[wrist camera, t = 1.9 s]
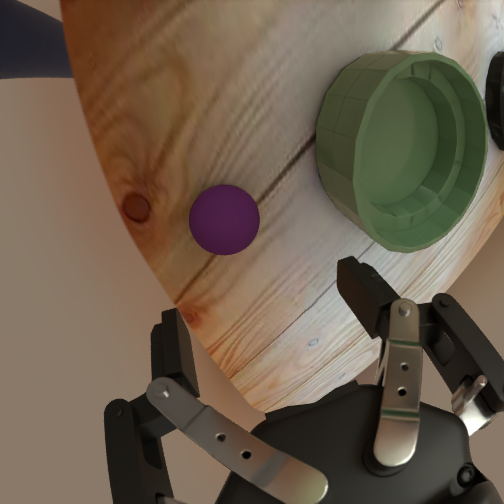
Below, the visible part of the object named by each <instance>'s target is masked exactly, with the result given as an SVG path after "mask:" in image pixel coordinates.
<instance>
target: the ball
mask: <svg viewBox="0 0 504 504" xmlns="http://www.w3.org/2000/svg"><path fill="white" fill-rule="evenodd" d="M259 224H260V216H259V211H258V208H257V205H256V203H255V201H254V200H253V198H252V197H251V196H250V195H249V194H248V193H247V192H245V191H244V190H242V189H240V188H238V187H236V186H232V185H217V186H214V187H211V188H209V189H207V190H205V191H204V192H203V193H201V194H200V195H199V196H198V197H197V199H196V200H195V201H194V203H193V205H192V208H191V210H190V215H189V226H190V230H191V233H192V235H193V237H194V239H195V240H196V242H197V243H198V244H199V245H200V246H201V247H202V248H203V249H205V250H206V251H208V252H211V253H213V254H217V255H232V254H235V253H238V252H240V251H242V250H244V249H245V248H246V247H248V246H249V245H250V244H251V243H252V241H253V240H254V238H255V237H256V235H257V232H258V229H259Z"/></svg>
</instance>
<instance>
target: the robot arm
mask: <svg viewBox="0 0 504 504" xmlns="http://www.w3.org/2000/svg"><path fill="white" fill-rule="evenodd" d="M337 288H338V291H339V293H340V295H341V296H342V298H343V299H344V300H345V302H346V303H347V305H348V306H349V307H350V309H351V310H352V312H353V313H354V314H355V316H356V317H357V319H358V320H359V321H360V323H361V324H362V326H363V327H364V329H365V330H366V331H367V333H368V334H369V336H370V337H371V339H374V338H376V337H379V336H380V338H381V339H382V341H381V346H380V354H379V361H378V368H377V373H376V378H375V381H374V385H373V384H361V385H358V383H357V381H356V380H354V381H352V382H349V383H347V384H345V385H342V386H340V387H338V388H335V389H334V390H332V391H331V392H329V393H328V394H327V395H325V396H324V397H322V398H321V399H319V400H318V401H316V402H315V403H311V404H303V405H294V406H287V407H284V408H281V409H278V410H275V411H272V412H268V413H265V416H266V420H264V421H262V422H261V423H259V424H258V425H257V426H256V427H255V428H254V429H253V430H252V431H251V432H250V433H249V432H248V431H246V430H244V429H243V428H241V427H240V426H238V425H237V424H235V423H234V422H232V421H231V420H230V419H228V418H226V417H225V416H224V415H222V414H221V413H219V412H218V411H217V410H215V409H214V408H212V407H211V406H209V405H204V404H203V403H202V402H200V401H199V400H198V399H196V398H198V397H200V394H199V388H198V382H197V377H196V371H195V364H194V358H193V352H192V346H191V339H190V335H189V332H188V329H187V327H186V325H185V323H184V321H183V319H182V316H181V314H180V312H179V310H178V308H173V309H170V310H166V311H163V312H162V323H160V324H156V325H154V328H153V330H152V332H151V370H152V382H151V383H150V384H149V385H148V387H147V390H146V392H145V393H144V394H143V395H141V396H139V397H138V398H136V399H134V400H132V401H130V402H127V401H126V400H124V399H115V400H113V401H111V402H110V403H109V404H108V405H107V406H106V408H105V411H104V427H105V443H106V454H107V464H108V472H109V479H110V487H111V492H112V499H113V504H187V503H185V502H184V501H181V500H177V499H174V495H173V491H172V488H171V483H170V480H169V475H168V471H167V466H166V462H165V457H164V452H163V447H162V443H161V436H163V435H165V434H167V433H169V432H171V431H173V430H175V429H177V428H178V429H179V430H180V431H181V432H182V433H184V434H185V435H186V436H187V437H188V438H189V439H191V440H192V441H193V442H194V443H196V444H197V445H198V446H199V447H201V448H202V449H203V450H204V451H206V452H207V453H208V454H209V455H211V456H212V457H213V458H215V459H216V460H217V461H219V462H220V463H221V464H223V465H224V466H225V467H227V468H228V469H230V470H231V472H230V474H229V476H228V478H227V480H226V482H225V484H224V486H223V488H222V490H221V492H220V494H219V496H218V498H217V500H216V502H215V504H504V503H503V502H502V499H501V498H500V496H499V493H498V492H497V490H496V488H495V486H494V485H493V483H492V482H491V481H490V480H489V479H488V478H487V477H485V476H484V475H483V474H482V473H481V472H480V471H479V470H478V469H477V468H476V467H475V466H474V464H473V462H472V459H471V455H470V448H469V436H470V435H472V434H473V433H474V432H476V431H477V430H480V429H483V428H485V427H486V426H488V425H489V424H490V423H491V422H492V421H494V420H495V419H496V418H497V417H499V416H500V415H501V414H502V413H503V412H504V361H503V359H502V358H501V356H500V355H499V354H498V352H497V351H496V349H495V348H494V347H493V345H492V344H491V343H490V341H489V340H488V339H487V337H486V336H485V335H484V334H483V332H482V331H481V330H480V329H479V327H478V326H477V325H476V324H475V323H474V321H473V320H472V319H471V318H470V316H469V315H468V314H467V313H466V312H465V310H464V309H463V308H462V307H461V306H460V305H459V303H458V302H457V301H456V300H455V299H454V298H453V297H452V296H451V295H449V294H446V293H438V294H436V295H435V296H434V297H433V299H432V302H430V303H423V304H416V303H415V302H413V301H412V300H410V299H406V298H401V297H400V296H399V295H398V294H397V293H396V292H395V291H394V290H393V289H392V287H391V286H390V285H389V284H388V283H387V282H386V281H385V280H383V278H382V276H381V275H379V273H378V272H377V271H376V270H375V269H374V268H373V267H372V266H370V265H368V264H366V263H364V262H363V263H359V262H358V260H357V259H356V258H355V257H354V256H349V257H346V258H343V259H340V260H338V262H337ZM445 333H446V334H445ZM448 337H449V338H448ZM450 340H451V341H452V342H451V341H450ZM453 344H454V345H453ZM423 349H424V350H425V352H426V353H427V355H428V356H429V358H430V359H431V361H432V362H433V364H434V366H435V367H436V369H437V370H438V372H439V373H440V375H441V376H442V378H443V379H444V381H445V383H446V384H447V386H448V387H449V389H450V391H451V392H452V394H453V396H452V401H451V402H452V411H453V412H454V413H451V412H448V411H445V410H442V409H440V408H437V407H434V406H431V405H429V404H426V403H423V402H420V394H421V382H422V362H423V360H422V359H423Z"/></svg>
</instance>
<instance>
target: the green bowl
mask: <svg viewBox="0 0 504 504" xmlns="http://www.w3.org/2000/svg"><path fill="white" fill-rule="evenodd" d="M487 152H488V123H487V118H486V113H485V109H484V104H483V100H482V98H481V96H480V93H479V91H478V89H477V87H476V85H475V83H474V82H473V80H472V78H471V77H470V76H469V74H468V73H467V72H466V71H465V70H464V69H463V68H462V67H461V66H460V65H459V64H458V63H457V62H456V61H454V60H452V59H450V58H448V57H445V56H443V55H440V54H438V53H435V52H425V51H402V50H388V51H381V52H375V53H369V54H365V55H364V56H362V57H361V58H359V59H358V60H356V61H355V62H353V63H352V64H350V65H349V66H347V67H346V68H344V69H343V70H342V72H341V73H340V75H339V76H338V77H337V79H336V80H335V82H334V83H333V85H332V86H331V87H330V89H329V90H328V92H327V93H326V95H325V99H324V102H323V105H322V108H321V112H320V115H319V118H318V121H317V124H316V162H317V165H318V169H319V173H320V176H321V180H322V184H323V187H324V189H325V191H326V192H327V194H328V195H329V197H330V198H331V200H332V201H333V203H334V204H335V206H336V207H337V209H338V210H339V211H341V212H342V213H343V214H344V215H345V216H346V217H348V218H349V219H350V220H351V221H352V222H353V223H354V224H356V225H357V226H358V227H359V228H360V229H361V230H362V231H363V232H365V233H366V234H367V235H368V236H369V237H370V238H371V239H373V240H374V241H375V242H377V243H378V244H380V245H381V246H382V247H384V248H385V249H387V250H388V251H394V252H401V253H411V252H415V251H418V250H422V249H425V248H428V247H430V246H431V245H433V244H434V243H436V242H437V241H439V240H440V239H442V238H443V237H445V236H446V235H447V234H448V233H449V232H450V231H451V230H452V229H453V228H454V227H455V225H456V224H457V223H458V222H459V221H460V220H461V219H462V217H463V216H464V214H465V213H466V211H467V209H468V208H469V206H470V205H471V203H472V201H473V199H474V198H475V195H476V193H477V190H478V187H479V185H480V182H481V180H482V177H483V174H484V169H485V163H486V158H487Z"/></svg>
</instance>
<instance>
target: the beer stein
mask: <svg viewBox="0 0 504 504" xmlns="http://www.w3.org/2000/svg"><path fill="white" fill-rule="evenodd" d="M486 107H487V120H488V123H489V127H490V131H491V135H492V138H493V140H494V141H495V143H496V144H497V146H498V147H499V149H500V150H503V151H504V52H498V53H497V54H496V55H495V56H494V57H493V59H492V61H491V63H490V67H489V71H488V76H487V84H486Z"/></svg>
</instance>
